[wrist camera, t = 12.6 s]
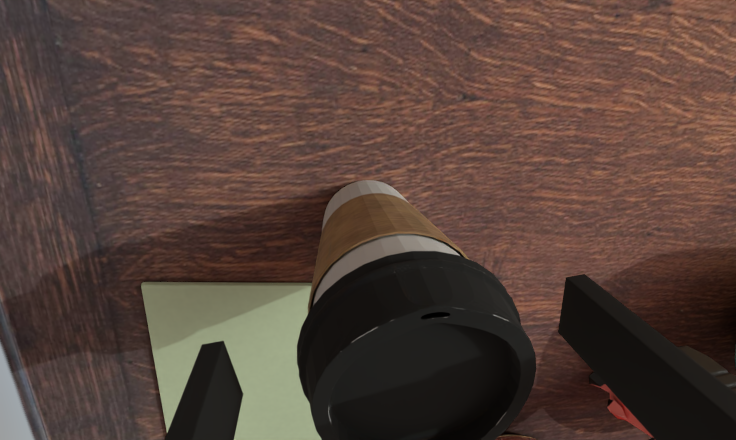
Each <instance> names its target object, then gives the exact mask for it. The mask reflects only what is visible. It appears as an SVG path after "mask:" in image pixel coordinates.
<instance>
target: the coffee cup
mask: <svg viewBox="0 0 736 440" xmlns="http://www.w3.org/2000/svg"><path fill="white" fill-rule="evenodd" d="M297 365H298V369H299V378H300V382H301V385H302V389H303V392H304V395H305V396H306V398H307V400H308V401H309V403H310V408H311V415H312V418H313V422H314V425H315V428H316V431H317V433H318V434H319V436H320V437H321V439H322V440H495V439H496V438H498V437H499V436H500V435H501V434H502V433H503V432H504V431H505V430H506V429H507V428H508V427H509V425H510V424H511V423H512V422H513V421H514V419H515V418H516V417H517V416H518V414H519V413H520V411H521V409H522V407H523V406H524V404H525V402H526V401H527V399H528V396H529V394H530V391H531V389H532V386H533V383H534V378H535V372H536V358H535V352H534V349H533V347H532V344H531V341H530V339H529V338H528V336H527V335H526V333H525V331H524V330H523V328H522V326H521V323H520V317H519V313H518V311H517V309H516V307H515V304H514V302H513V300H512V298H511V297H510V295H509V294H508V293H507V291H506V289H505V287H504V286H503V285H502V284H501V283H500V281H499V280H498V279H497V278H496V277H495V276H494V274H492V273H491V272H490V271H488V270H487V269H485V268H484V267H482V266H481V265H479V264H478V263H476V262H474V261H471V260H470V259H469V258H468V257H467V256H466V255H465V254H464V253H463V251H462V250H461V249H460V248H458V247H457V246H456V245H455V244H454V243H453V242H452V241H451V240H450V239H449V238H447V237H446V236H445V235H444V234H443V233H442V232H441V231H440V230H439V229H438V228H436V227H435V226H434V225H433V224H432V223H431V222H430V221H429V220H428V219H427V218H426V217H424V216H423V215H422V214H421V213H420V212H419V211H418V210H417V209H416V208H415V207H413V206H412V205H411V204H409V203H408V202H407V201H406V200H405V198H404V197H403V196H402V195H401V194H400V193H399V192H398V191H396V190H395V189H394V188H392V187H391V186H389V185H387V184H385V183H383V182H379V181H374V180H363V181H357V182H354V183H351V184H349V185H347V186H345V187H343V188H342V189H340V190H339V191H338V192H337V193H336V194H335V195H334V196H333V197H332V199H331V200H330V201H329V203H328V205H327V208H326V210H325V214H324V219H323V226H322V234H321V238H320V243H319V249H318V254H317V259H316V265H315V270H314V276H313V281H312V287H311V292H310V298H309V303H308V315H307V317H306V319H305V321H304V323H303V325H302V327H301V331H300V335H299V339H298V343H297Z"/></svg>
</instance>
